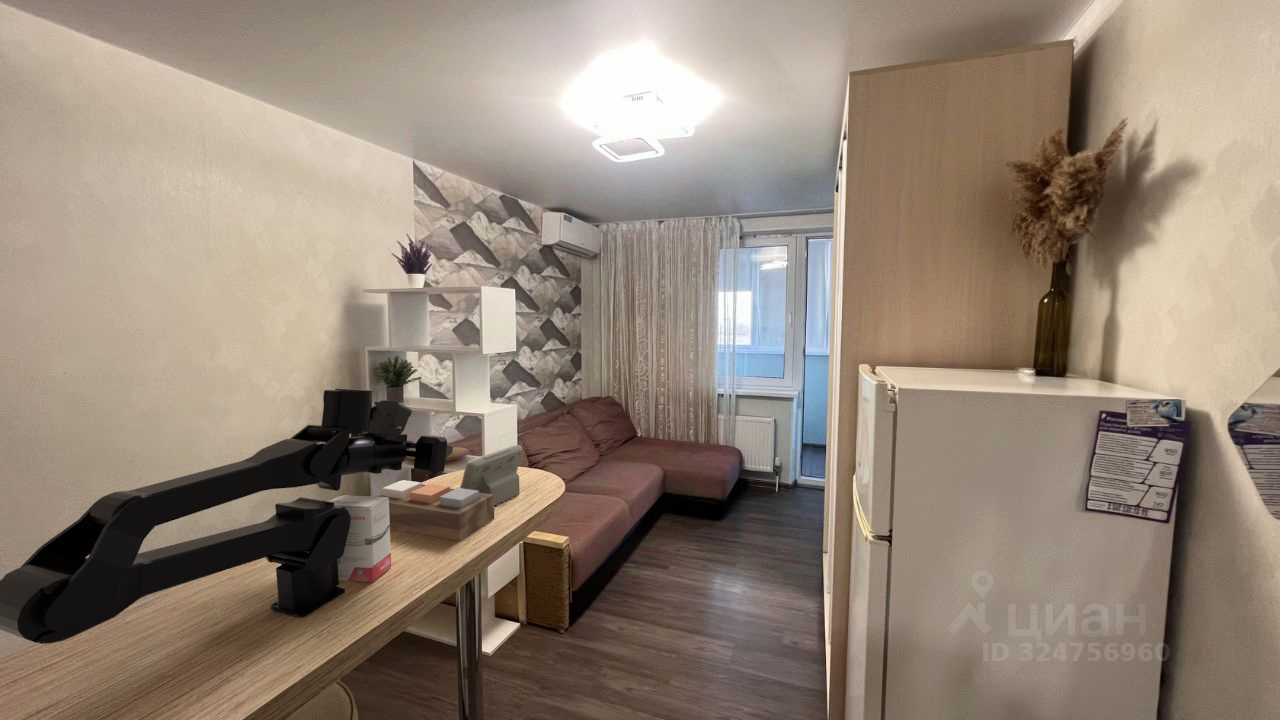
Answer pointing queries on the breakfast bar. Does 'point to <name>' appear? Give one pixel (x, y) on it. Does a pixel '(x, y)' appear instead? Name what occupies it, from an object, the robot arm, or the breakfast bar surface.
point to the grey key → (459, 498)
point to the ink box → (365, 538)
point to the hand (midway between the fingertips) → (431, 446)
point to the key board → (440, 516)
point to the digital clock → (494, 474)
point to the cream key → (401, 489)
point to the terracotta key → (429, 493)
